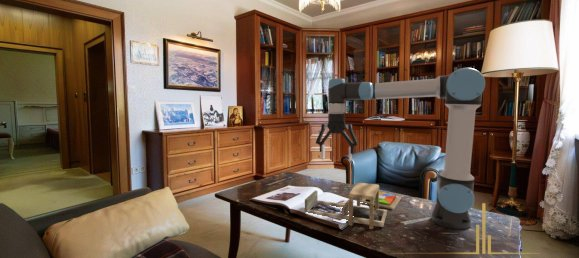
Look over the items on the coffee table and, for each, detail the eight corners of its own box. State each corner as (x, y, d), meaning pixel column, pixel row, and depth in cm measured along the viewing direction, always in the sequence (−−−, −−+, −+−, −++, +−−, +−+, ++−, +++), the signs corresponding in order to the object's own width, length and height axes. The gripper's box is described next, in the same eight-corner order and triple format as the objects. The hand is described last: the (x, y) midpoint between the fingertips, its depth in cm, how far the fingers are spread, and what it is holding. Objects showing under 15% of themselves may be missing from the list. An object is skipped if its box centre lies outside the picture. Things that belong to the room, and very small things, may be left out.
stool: (378, 213, 133) (379, 184, 131) (372, 229, 116) (373, 196, 115) (357, 210, 137) (357, 182, 135) (348, 225, 120) (349, 193, 119)
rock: (380, 224, 122) (380, 210, 121) (355, 224, 121) (355, 210, 121) (373, 216, 131) (373, 203, 130) (350, 216, 130) (350, 204, 130)
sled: (386, 214, 129) (386, 199, 129) (383, 227, 116) (383, 210, 115) (315, 203, 144) (315, 190, 143) (304, 214, 131) (304, 199, 130)
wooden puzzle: (358, 204, 147) (358, 197, 146) (370, 194, 162) (370, 188, 162) (393, 211, 137) (393, 204, 136) (402, 200, 152) (402, 193, 152)
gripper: (365, 112, 126) (364, 160, 128) (314, 112, 136) (314, 156, 138) (362, 113, 119) (361, 163, 121) (308, 113, 129) (309, 159, 131)
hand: (336, 159), depth 129 cm, fingers open, 12 cm apart
